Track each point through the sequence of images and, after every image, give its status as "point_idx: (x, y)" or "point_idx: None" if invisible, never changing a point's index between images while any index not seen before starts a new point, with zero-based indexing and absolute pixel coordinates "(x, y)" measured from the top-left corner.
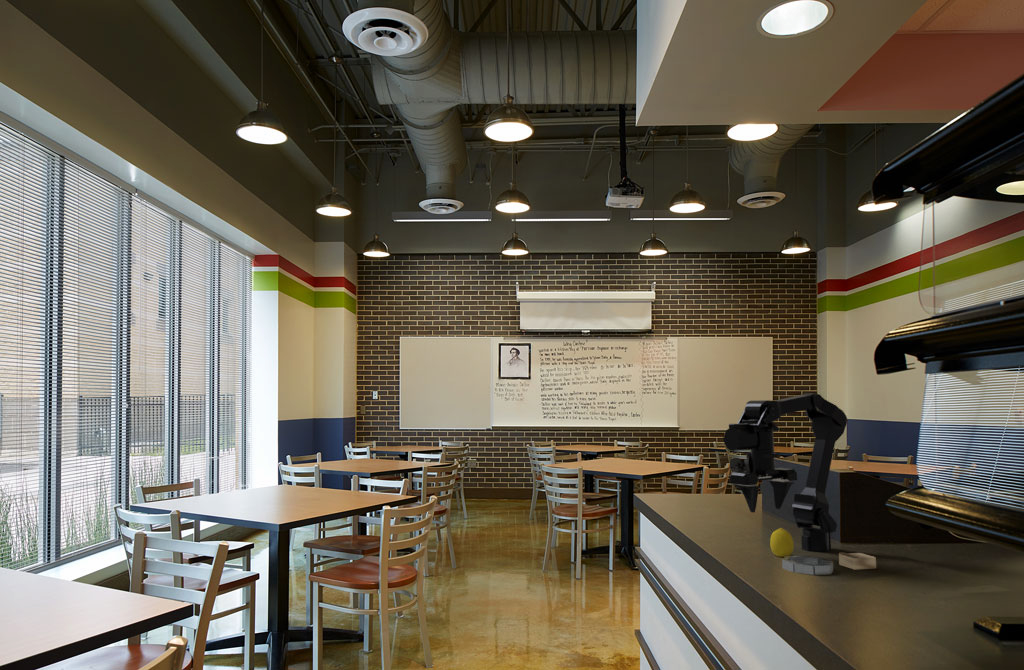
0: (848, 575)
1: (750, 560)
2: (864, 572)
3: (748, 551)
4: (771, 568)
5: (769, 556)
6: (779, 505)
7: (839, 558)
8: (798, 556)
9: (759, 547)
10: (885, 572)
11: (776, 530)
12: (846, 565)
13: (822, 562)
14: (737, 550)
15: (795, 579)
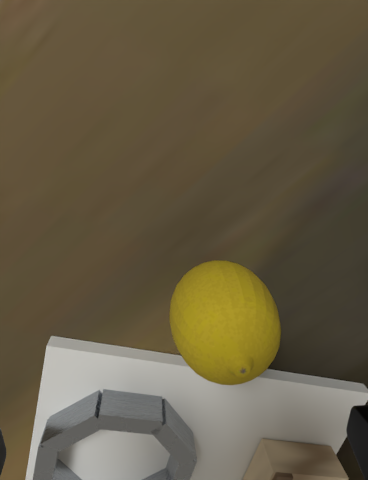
0: None
1: (82, 235)
2: None
3: (223, 84)
4: None
5: (221, 212)
6: (365, 473)
7: (267, 459)
8: (140, 430)
9: (358, 33)
10: None
11: (214, 350)
12: (252, 465)
13: (172, 471)
14: (191, 34)
15: None
